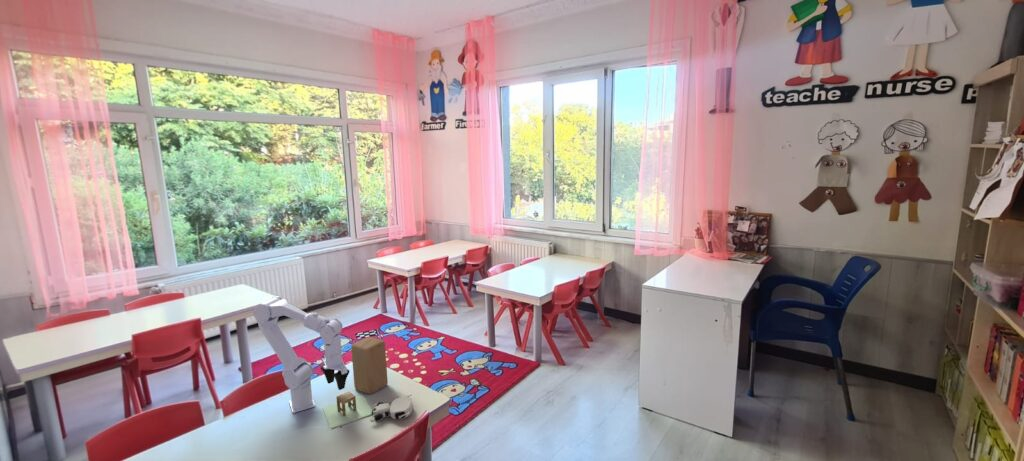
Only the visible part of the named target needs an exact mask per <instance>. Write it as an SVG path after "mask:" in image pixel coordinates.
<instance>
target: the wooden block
mask: <svg viewBox="0 0 1024 461" xmlns="http://www.w3.org/2000/svg"><path fill="white" fill-rule="evenodd" d="M350 347H351V359H352V360H351V362H352V372H353V373H352V374H353V384H354V388H355V390H358V391H359V392H362V393H365V394H367V395H372V394H374V393H376V392H377V391H379V390H380V389H382V388H384V387H386V386H387V385H388V368H387V365H388V364H387V355H386V342H385V341H384V340H382V339H379V338H376V337H372V336H368V337H366V338H363V339H361V340H358V341H357V342H354V343H352V344H351V345H350Z"/></svg>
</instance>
